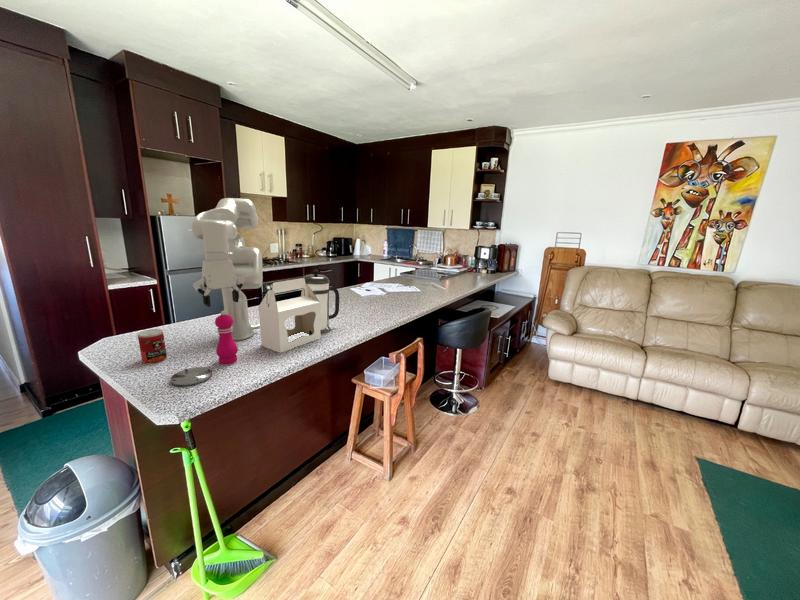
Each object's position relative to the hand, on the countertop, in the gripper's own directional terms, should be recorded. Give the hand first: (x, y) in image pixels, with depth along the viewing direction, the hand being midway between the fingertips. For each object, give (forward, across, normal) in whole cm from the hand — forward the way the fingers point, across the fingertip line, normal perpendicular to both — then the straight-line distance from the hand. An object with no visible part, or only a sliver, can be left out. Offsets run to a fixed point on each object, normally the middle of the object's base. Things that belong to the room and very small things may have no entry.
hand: (222, 303), depth 121 cm
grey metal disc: (+23, +14, +4) cm, 27 cm away
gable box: (+23, -28, -1) cm, 36 cm away
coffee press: (+22, -46, -6) cm, 51 cm away
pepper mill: (+23, 0, 0) cm, 23 cm away
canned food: (+23, +18, -22) cm, 36 cm away
